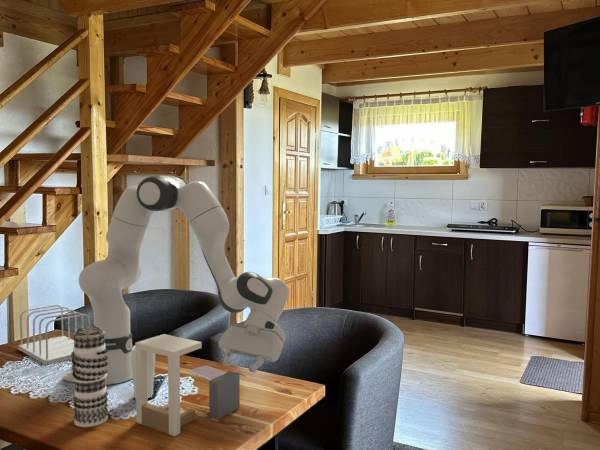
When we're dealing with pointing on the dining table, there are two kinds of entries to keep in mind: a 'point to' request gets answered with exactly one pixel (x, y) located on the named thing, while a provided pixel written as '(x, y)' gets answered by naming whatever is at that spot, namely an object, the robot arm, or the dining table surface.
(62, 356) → the file sorter
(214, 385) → the slate tile
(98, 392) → the decorative candle
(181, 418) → the shelf
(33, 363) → the dining table surface
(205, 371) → the mobile phone
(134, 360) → the drinking glass
